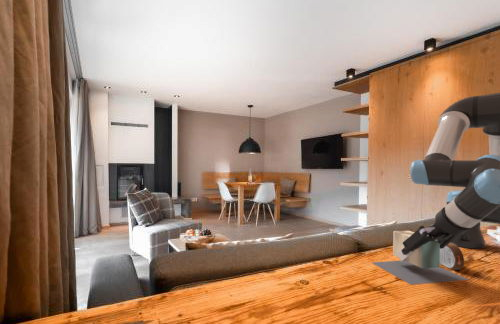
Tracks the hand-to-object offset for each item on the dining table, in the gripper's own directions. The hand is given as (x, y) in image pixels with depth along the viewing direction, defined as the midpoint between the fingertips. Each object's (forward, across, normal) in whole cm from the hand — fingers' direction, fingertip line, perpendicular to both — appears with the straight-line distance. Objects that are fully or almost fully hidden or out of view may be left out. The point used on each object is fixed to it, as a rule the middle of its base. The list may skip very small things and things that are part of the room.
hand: (409, 256), depth 89 cm
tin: (+3, -14, +2) cm, 15 cm away
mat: (0, 0, +5) cm, 5 cm away
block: (0, 0, -5) cm, 5 cm away
